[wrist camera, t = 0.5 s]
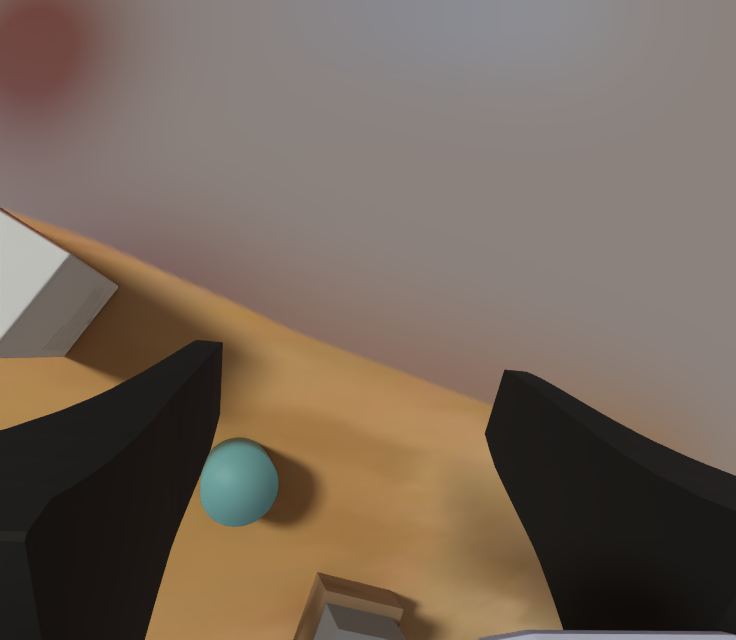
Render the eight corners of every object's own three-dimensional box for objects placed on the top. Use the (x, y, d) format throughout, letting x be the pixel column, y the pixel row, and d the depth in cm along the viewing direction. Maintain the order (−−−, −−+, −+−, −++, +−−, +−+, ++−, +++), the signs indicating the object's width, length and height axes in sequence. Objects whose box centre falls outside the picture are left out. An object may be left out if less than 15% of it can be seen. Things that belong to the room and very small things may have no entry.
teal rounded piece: (255, 513, 32) (261, 535, 28) (189, 495, 31) (187, 515, 27) (280, 449, 33) (289, 461, 29) (217, 428, 31) (218, 439, 28)
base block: (361, 672, 34) (375, 701, 31) (285, 657, 32) (292, 687, 29) (388, 588, 35) (403, 609, 32) (316, 570, 33) (325, 590, 30)
